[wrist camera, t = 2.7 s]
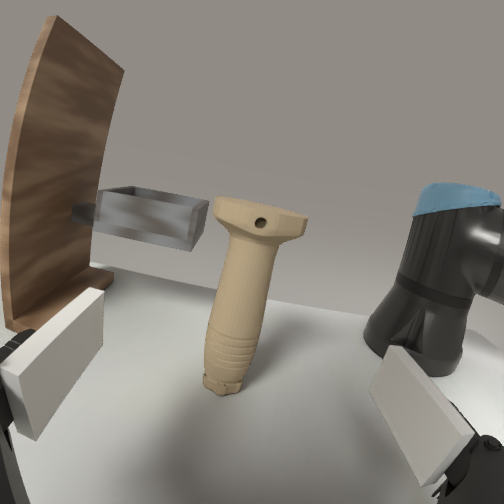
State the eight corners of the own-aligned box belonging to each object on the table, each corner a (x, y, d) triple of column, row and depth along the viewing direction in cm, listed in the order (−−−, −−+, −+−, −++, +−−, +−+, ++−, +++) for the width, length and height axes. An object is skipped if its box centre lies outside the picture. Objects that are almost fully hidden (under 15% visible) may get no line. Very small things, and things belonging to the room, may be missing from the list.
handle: (188, 362, 27) (219, 194, 23) (257, 376, 27) (301, 213, 24) (178, 395, 22) (212, 198, 19) (259, 410, 22) (314, 222, 19)
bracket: (191, 298, 41) (236, 84, 35) (161, 380, 23) (234, 16, 17) (82, 272, 39) (117, 70, 33) (5, 327, 22) (47, 16, 16)
